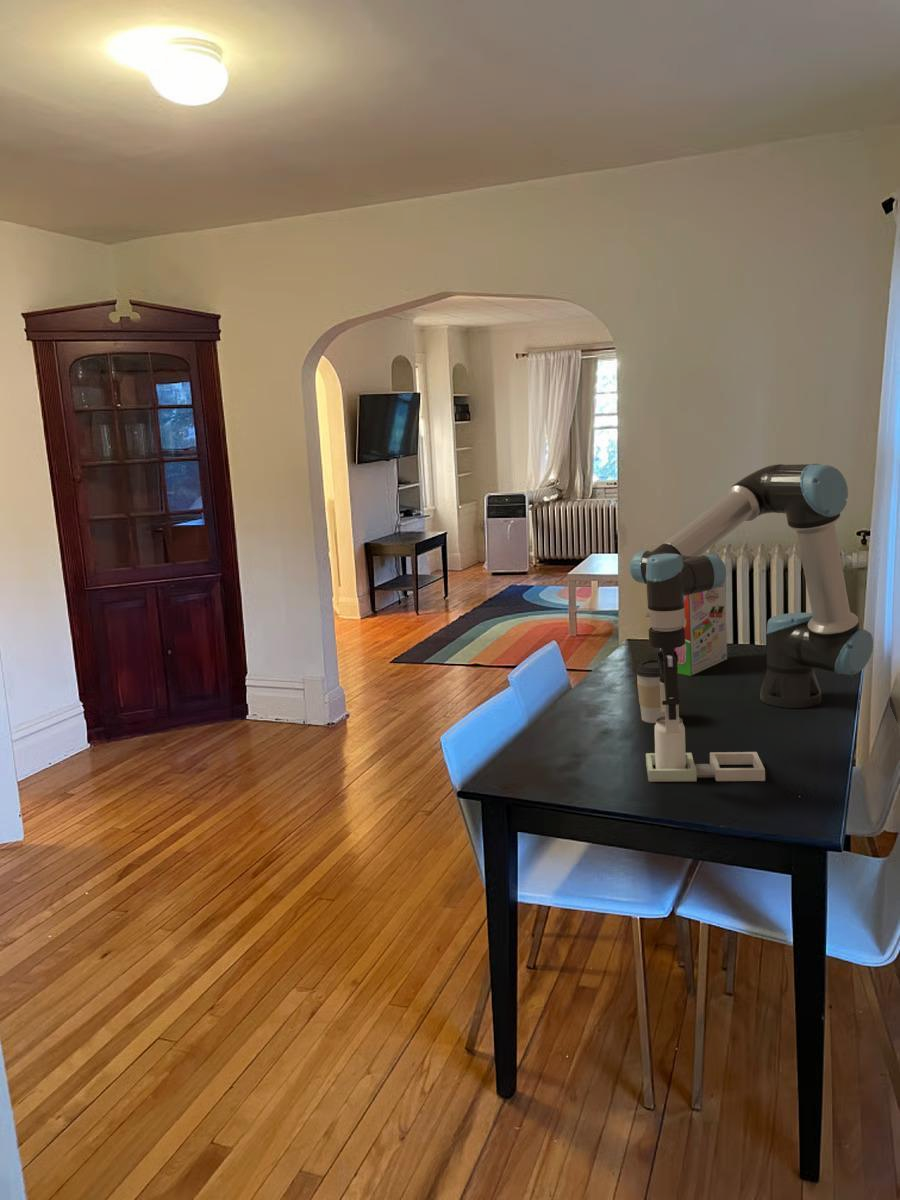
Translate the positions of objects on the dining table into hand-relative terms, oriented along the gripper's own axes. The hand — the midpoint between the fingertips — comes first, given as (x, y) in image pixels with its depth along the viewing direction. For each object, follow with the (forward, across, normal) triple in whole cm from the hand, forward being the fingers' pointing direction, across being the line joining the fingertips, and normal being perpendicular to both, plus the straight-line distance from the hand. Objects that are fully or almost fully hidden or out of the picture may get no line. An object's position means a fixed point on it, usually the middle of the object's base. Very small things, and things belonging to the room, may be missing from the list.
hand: (669, 721), depth 191 cm
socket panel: (+12, 0, +7) cm, 14 cm away
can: (+12, 0, 0) cm, 12 cm away
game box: (+12, -81, +16) cm, 83 cm away
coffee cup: (+12, -35, -1) cm, 37 cm away
